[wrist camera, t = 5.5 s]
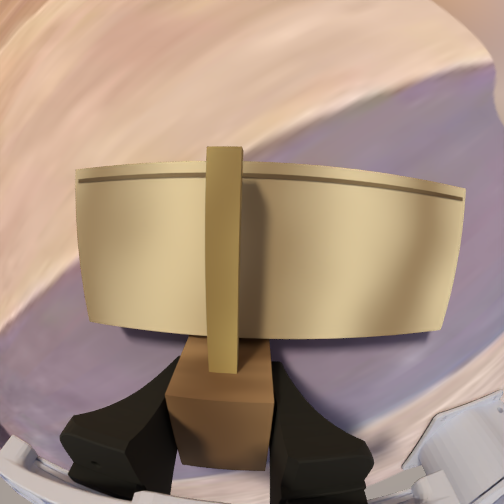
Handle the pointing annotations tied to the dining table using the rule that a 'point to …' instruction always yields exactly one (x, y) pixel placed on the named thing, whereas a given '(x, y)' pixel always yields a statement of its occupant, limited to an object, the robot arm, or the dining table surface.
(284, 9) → the dining table surface
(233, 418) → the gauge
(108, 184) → the board
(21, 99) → the dining table surface
